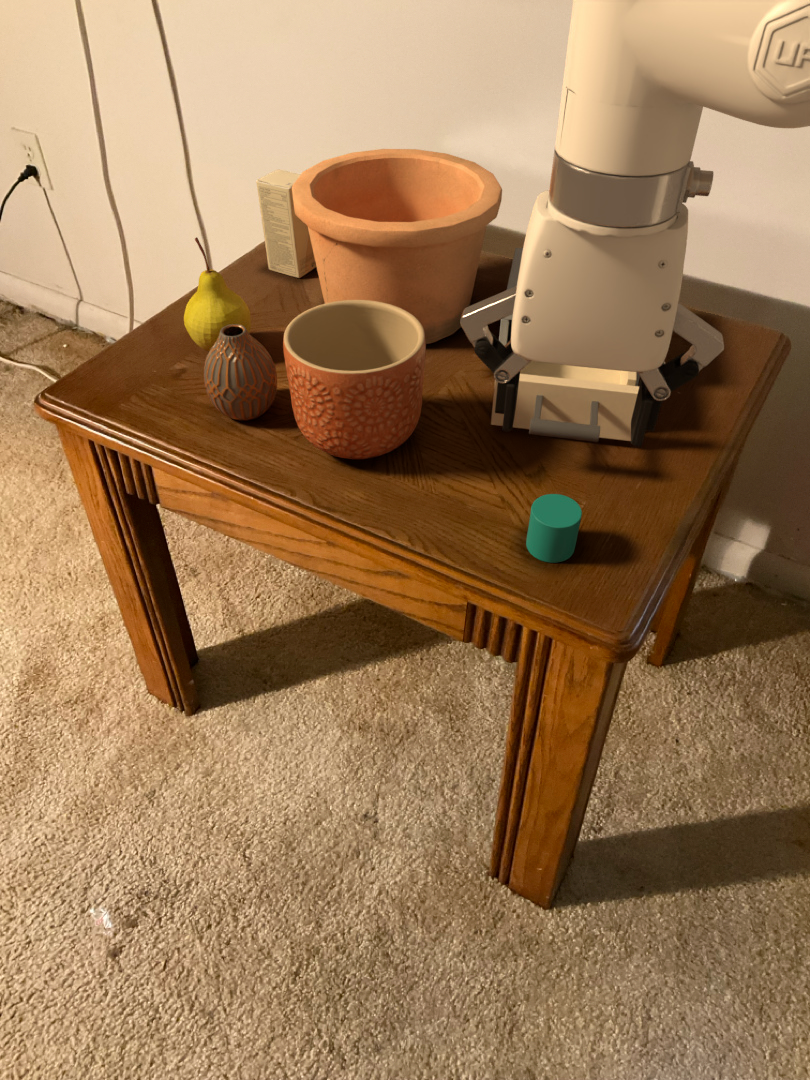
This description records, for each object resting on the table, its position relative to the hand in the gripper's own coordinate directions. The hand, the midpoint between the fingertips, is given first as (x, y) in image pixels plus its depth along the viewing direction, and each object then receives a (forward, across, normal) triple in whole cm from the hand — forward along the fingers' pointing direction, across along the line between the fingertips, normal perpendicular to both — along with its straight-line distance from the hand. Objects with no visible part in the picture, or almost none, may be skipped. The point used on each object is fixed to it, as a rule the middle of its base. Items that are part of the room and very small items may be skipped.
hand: (571, 427), depth 59 cm
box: (+12, +35, -44) cm, 57 cm away
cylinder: (+12, 0, 0) cm, 12 cm away
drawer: (+11, 0, -19) cm, 22 cm away
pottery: (+12, +20, -36) cm, 43 cm away
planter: (+12, +19, -12) cm, 25 cm away
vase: (+12, +31, -14) cm, 36 cm away
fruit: (+12, +37, -24) cm, 46 cm away
